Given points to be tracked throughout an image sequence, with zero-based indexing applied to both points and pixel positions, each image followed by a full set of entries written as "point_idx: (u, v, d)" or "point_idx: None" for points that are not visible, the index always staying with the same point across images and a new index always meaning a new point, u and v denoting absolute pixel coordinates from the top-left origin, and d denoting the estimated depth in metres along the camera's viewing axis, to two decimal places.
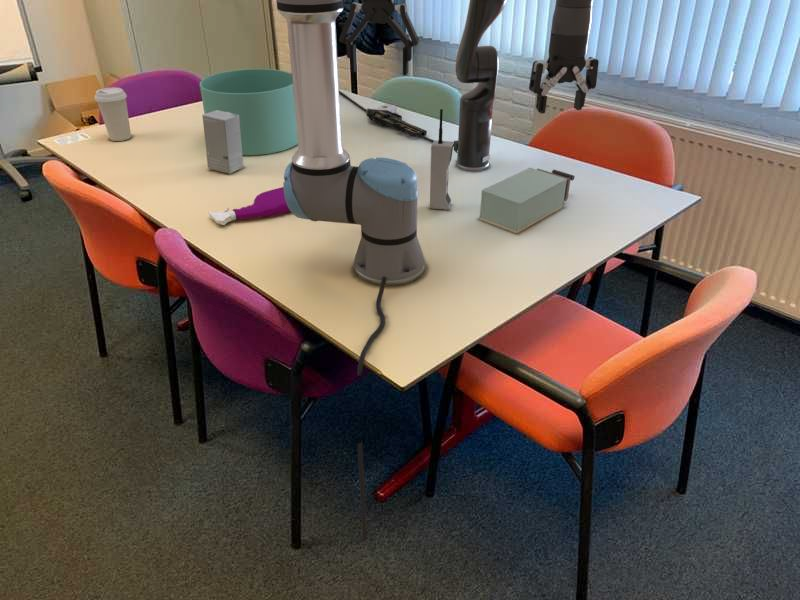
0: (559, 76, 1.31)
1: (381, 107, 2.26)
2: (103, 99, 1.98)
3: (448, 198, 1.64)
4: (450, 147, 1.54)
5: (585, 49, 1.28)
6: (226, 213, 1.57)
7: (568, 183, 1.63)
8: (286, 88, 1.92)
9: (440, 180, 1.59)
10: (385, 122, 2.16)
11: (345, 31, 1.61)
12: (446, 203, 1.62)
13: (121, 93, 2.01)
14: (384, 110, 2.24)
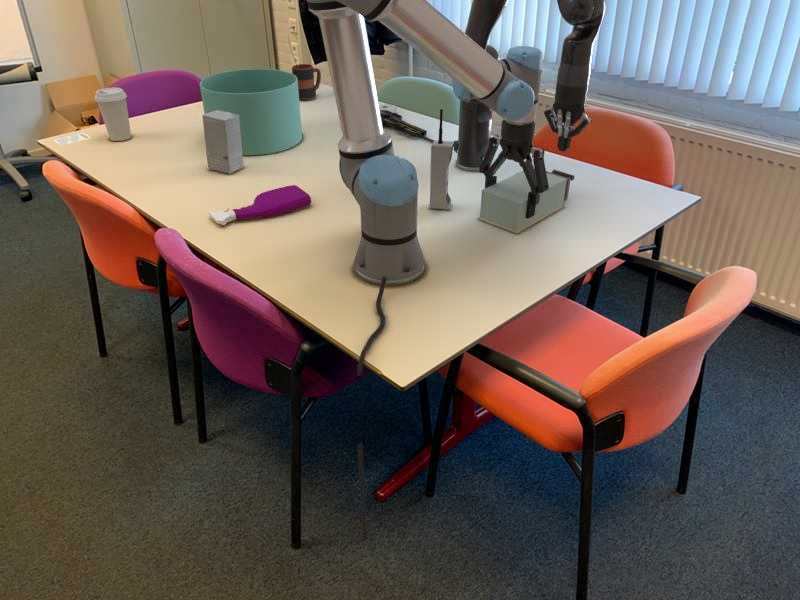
0: (560, 117, 1.60)
1: (381, 107, 2.26)
2: (103, 99, 1.98)
3: (448, 198, 1.64)
4: (450, 147, 1.54)
5: (572, 99, 1.54)
6: (226, 213, 1.57)
7: (568, 183, 1.63)
8: (286, 88, 1.92)
9: (440, 180, 1.59)
10: (385, 122, 2.16)
11: (484, 163, 1.55)
12: (446, 203, 1.62)
13: (121, 93, 2.01)
14: (384, 110, 2.24)
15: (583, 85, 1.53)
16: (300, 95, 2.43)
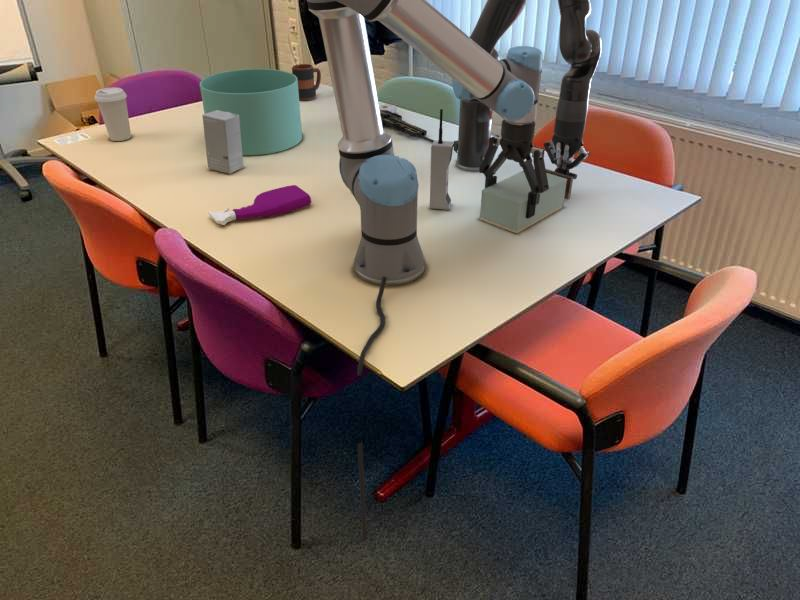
0: (559, 150, 1.65)
1: (381, 107, 2.26)
2: (103, 99, 1.98)
3: (448, 198, 1.64)
4: (450, 147, 1.54)
5: (570, 133, 1.60)
6: (226, 213, 1.57)
7: (571, 182, 1.64)
8: (286, 88, 1.92)
9: (440, 180, 1.59)
10: (385, 122, 2.16)
11: (484, 163, 1.55)
12: (446, 203, 1.62)
13: (121, 93, 2.01)
14: (384, 110, 2.24)
15: (581, 120, 1.58)
16: (300, 95, 2.43)
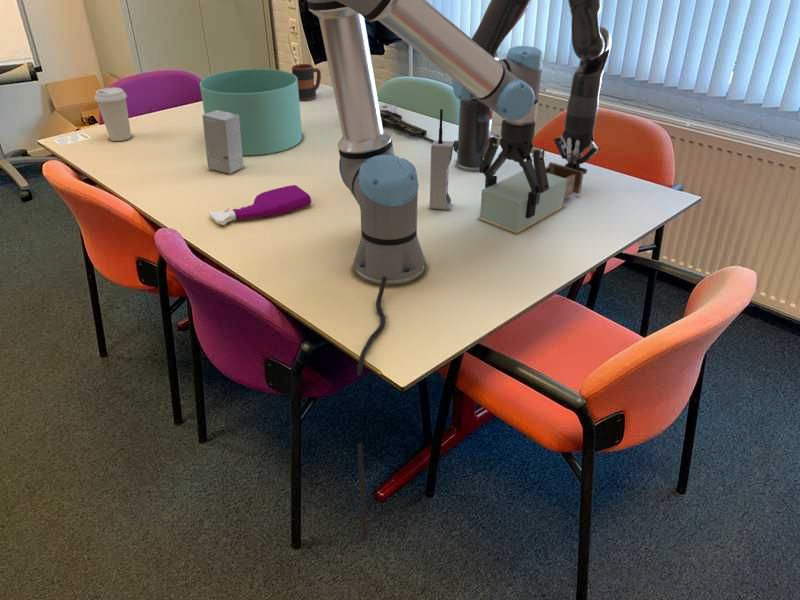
0: (570, 145, 1.69)
1: (381, 107, 2.26)
2: (103, 99, 1.98)
3: (448, 198, 1.64)
4: (450, 147, 1.54)
5: (581, 129, 1.63)
6: (226, 213, 1.57)
7: (581, 176, 1.67)
8: (286, 88, 1.92)
9: (440, 180, 1.59)
10: (385, 122, 2.16)
11: (484, 163, 1.55)
12: (446, 203, 1.62)
13: (121, 93, 2.01)
14: (384, 110, 2.24)
15: (592, 116, 1.62)
16: (300, 95, 2.43)
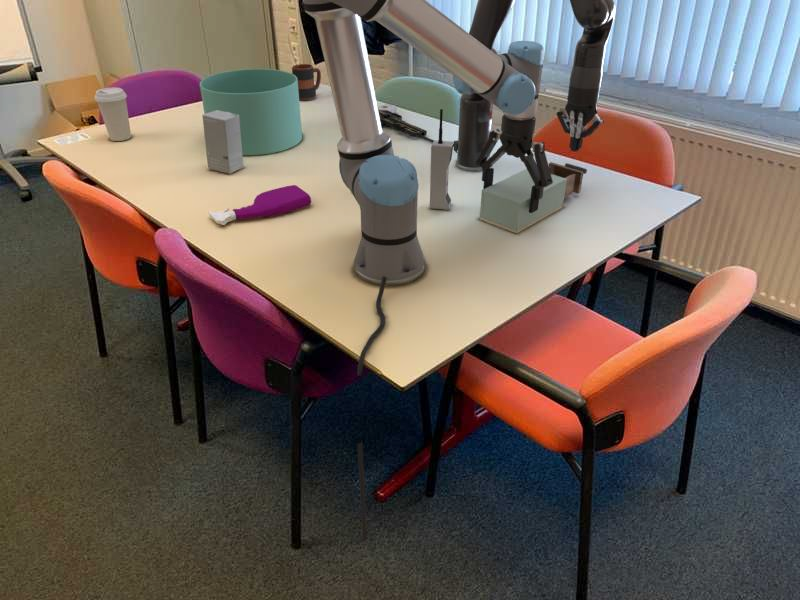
0: (572, 118, 1.64)
1: (381, 107, 2.26)
2: (103, 99, 1.98)
3: (448, 198, 1.64)
4: (450, 147, 1.54)
5: (585, 100, 1.59)
6: (226, 213, 1.57)
7: (581, 176, 1.67)
8: (286, 88, 1.92)
9: (440, 180, 1.59)
10: (385, 122, 2.16)
11: (482, 156, 1.55)
12: (446, 203, 1.62)
13: (121, 93, 2.01)
14: (384, 110, 2.24)
15: (595, 87, 1.57)
16: (300, 95, 2.43)
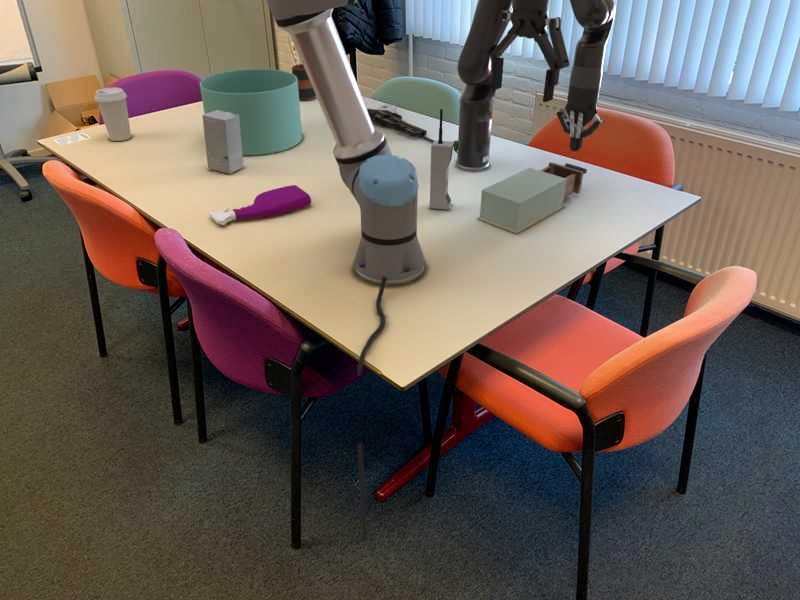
0: (572, 118, 1.64)
1: (381, 107, 2.26)
2: (103, 99, 1.98)
3: (448, 198, 1.64)
4: (450, 147, 1.54)
5: (585, 100, 1.59)
6: (226, 213, 1.57)
7: (581, 176, 1.67)
8: (286, 88, 1.92)
9: (440, 180, 1.59)
10: (385, 122, 2.16)
11: (491, 42, 1.40)
12: (446, 203, 1.62)
13: (121, 93, 2.01)
14: (384, 110, 2.24)
15: (595, 87, 1.57)
16: (300, 95, 2.43)
